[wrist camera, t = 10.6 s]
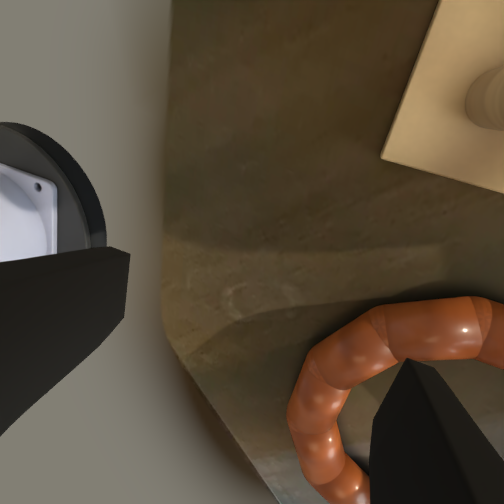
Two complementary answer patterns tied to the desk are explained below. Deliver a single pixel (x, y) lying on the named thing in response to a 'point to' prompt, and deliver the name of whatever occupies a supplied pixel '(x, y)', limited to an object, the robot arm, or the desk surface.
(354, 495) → the ring
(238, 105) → the desk surface
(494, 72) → the stand
